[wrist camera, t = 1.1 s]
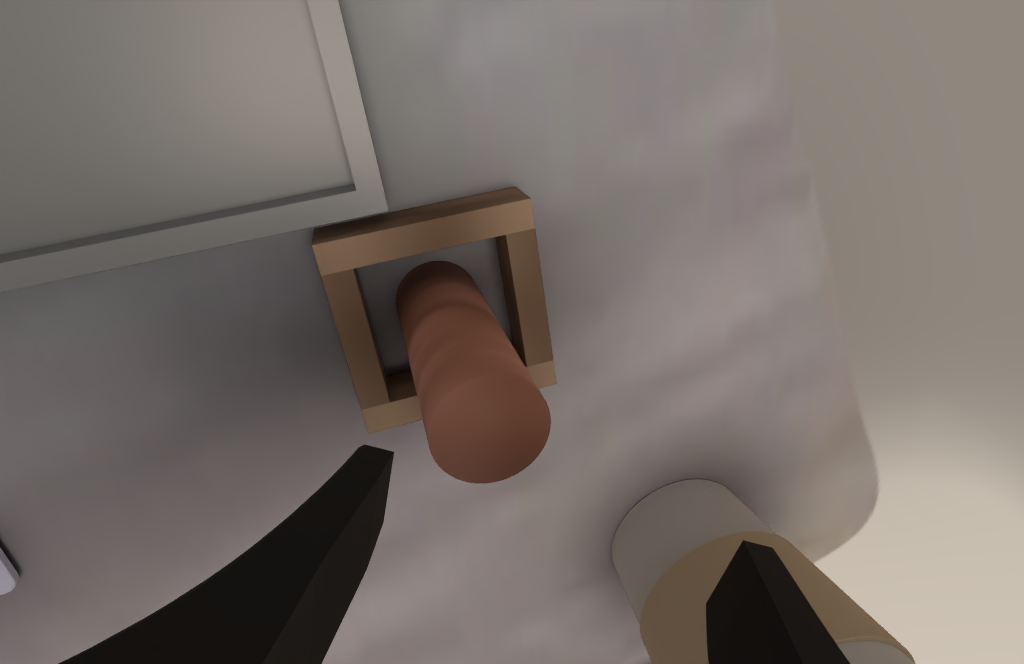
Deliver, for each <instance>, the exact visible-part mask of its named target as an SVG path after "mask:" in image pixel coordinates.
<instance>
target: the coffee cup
mask: <svg viewBox="0 0 1024 664" xmlns="http://www.w3.org/2000/svg"><path fill="white" fill-rule="evenodd" d="M743 540H745V541H749V542H752V543H756V544H760V545H764V546H768V547H772V548H773V549H774V550H775V552H776V553H777V555H778V556H779V557H780V559H781V560H782V562H783V563H784V565H785V567H786V568H787V570H788V571H789V573H790V574H791V576H792V577H793V579H794V580H795V582H796V583H797V585H798V587H799V588H800V590H801V591H802V593H803V594H804V596H805V597H806V599H807V600H808V602H809V603H810V605H811V606H812V608H813V609H814V611H815V613H816V614H817V616H818V617H819V619H820V620H821V622H822V623H823V625H824V626H825V628H826V629H827V631H828V632H829V633H830V635H831V636H832V638H833V639H834V641H835V642H836V644H837V645H838V647H839V648H840V650H841V651H842V652H843V654H844V655H845V657H846V658H847V660H848V661H849V662H850V664H915V661H914V659H913V657H912V655H911V654H910V653H909V651H908V650H907V649H906V648H905V647H903V646H902V645H901V644H900V643H899V642H898V641H897V640H896V639H895V638H894V637H892V636H891V635H890V634H889V633H888V632H887V631H886V630H885V629H884V628H883V627H881V625H879V624H878V623H877V622H876V621H875V620H874V619H873V618H872V617H871V616H870V615H869V614H867V613H866V612H865V611H864V610H863V609H862V608H861V607H860V606H858V605H857V604H856V603H855V602H854V601H853V600H852V599H851V598H850V597H849V596H848V595H847V594H846V593H844V592H843V591H842V590H841V589H840V588H839V587H838V586H837V585H836V584H835V583H834V582H832V581H831V580H830V579H829V578H828V577H827V576H826V575H825V574H824V573H823V572H822V571H820V570H819V569H818V568H817V567H816V566H815V565H814V564H813V563H812V562H811V561H810V560H808V559H807V558H806V557H805V556H804V555H803V554H802V553H801V552H800V551H799V550H798V549H796V548H795V547H794V546H793V545H792V544H791V543H790V542H789V541H787V540H786V539H784V538H782V537H780V536H778V535H777V534H776V533H775V532H774V531H772V530H771V529H770V528H769V527H768V526H767V525H766V524H765V523H764V522H763V521H762V520H761V519H760V518H759V517H757V516H756V515H755V514H754V513H753V512H752V511H751V510H750V509H749V508H748V507H747V506H746V505H745V504H744V503H743V502H741V501H740V500H739V499H738V498H737V497H736V496H735V495H734V494H733V493H732V492H731V491H730V490H729V489H727V488H726V487H725V486H723V485H721V484H719V483H717V482H714V481H710V480H704V479H690V480H683V481H679V482H675V483H672V484H669V485H666V486H664V487H662V488H660V489H658V490H656V491H654V492H652V493H651V494H649V495H648V496H646V497H645V498H643V499H642V500H641V501H640V502H638V503H637V504H636V505H635V506H634V507H633V508H632V509H631V510H630V511H629V512H628V514H627V515H626V516H625V517H624V519H623V520H622V522H621V523H620V525H619V527H618V529H617V531H616V533H615V536H614V539H613V544H612V560H613V564H614V566H615V569H616V571H617V573H618V576H619V578H620V580H621V582H622V585H623V587H624V589H625V592H626V594H627V596H628V599H629V601H630V603H631V605H632V608H633V610H634V612H635V615H636V617H637V619H638V622H639V624H640V632H641V637H642V640H643V642H644V645H645V647H646V649H647V652H648V654H649V656H650V659H651V661H652V663H653V664H709V661H708V653H707V634H706V603H707V601H708V599H709V597H710V596H711V594H712V592H713V591H714V589H715V587H716V585H717V584H718V582H719V580H720V579H721V577H722V575H723V573H724V572H725V570H726V568H727V567H728V565H729V563H730V562H731V560H732V558H733V556H734V555H735V553H736V551H737V550H738V548H739V546H740V544H741V543H742V541H743Z"/></svg>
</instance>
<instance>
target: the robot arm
mask: <svg viewBox="0 0 1024 664" xmlns="http://www.w3.org/2000/svg"><path fill="white" fill-rule="evenodd" d="M393 455H394V452H392V451H388V450H384V449H380V448H376V447H372V446H368V445H363V446H361V447H359V448H358V449H357V450H356V451H355V452H354V454H353V455H352V456H351V457H350V458H349V459H348V460H347V461H346V462H345V463H344V465H343V466H342V467H341V468H340V469H339V470H338V471H337V472H336V473H335V474H334V475H333V476H332V477H331V478H330V479H329V480H328V481H327V482H326V483H325V484H324V485H323V486H322V487H321V488H320V489H319V490H318V491H316V492H315V493H314V494H313V495H312V496H311V497H310V498H309V499H308V500H307V501H306V502H304V503H303V504H302V505H301V506H300V507H299V508H298V509H297V510H296V511H295V512H293V513H292V514H291V515H290V516H289V517H288V518H287V519H285V520H284V521H283V522H282V523H280V524H279V525H278V526H277V527H276V528H274V529H273V530H272V531H271V532H269V533H268V534H267V535H266V536H265V537H263V538H262V539H261V540H260V541H258V542H257V543H256V544H255V545H253V546H252V547H251V548H250V549H248V550H247V551H246V552H244V553H243V554H242V555H240V556H239V557H238V558H236V559H235V560H234V561H232V562H231V563H229V564H228V565H227V566H225V567H224V568H222V569H221V570H220V571H218V572H217V573H215V574H214V575H212V576H211V577H210V578H208V579H207V580H205V581H204V582H202V583H200V584H199V585H197V586H196V587H194V588H193V589H191V590H190V591H188V592H186V593H185V594H183V595H182V596H180V597H179V598H177V599H176V600H174V601H173V602H171V603H169V604H168V605H166V606H164V607H163V608H161V609H159V610H158V611H156V612H154V613H153V614H151V615H149V616H148V617H146V618H144V619H142V620H140V621H139V622H137V623H135V624H133V625H131V626H129V627H128V628H126V629H124V630H122V631H120V632H119V633H117V634H115V635H113V636H111V637H109V638H108V639H106V640H104V641H102V642H100V643H98V644H97V645H95V646H93V647H91V648H89V649H87V650H85V651H83V652H81V653H79V654H77V655H75V656H73V657H71V658H69V659H67V660H65V661H63V662H61V663H59V664H322V661H323V659H324V657H325V655H326V653H327V651H328V649H329V647H330V645H331V643H332V641H333V639H334V637H335V634H336V632H337V630H338V628H339V626H340V624H341V622H342V620H343V618H344V616H345V614H346V612H347V610H348V607H349V605H350V603H351V601H352V599H353V597H354V595H355V593H356V591H357V589H358V587H359V584H360V582H361V580H362V578H363V576H364V574H365V572H366V570H367V567H368V564H369V561H370V559H371V556H372V553H373V550H374V548H375V545H376V542H377V539H378V536H379V533H380V530H381V528H382V525H383V521H384V515H385V508H386V501H387V495H388V488H389V482H390V475H391V468H392V462H393ZM18 581H19V575H18V573H17V571H16V570H15V569H14V567H13V566H12V564H11V563H10V561H9V560H8V558H7V557H6V555H5V554H4V552H3V551H2V549H1V548H0V595H3V594H6V593H8V592H11V591H12V590H13V589H14V588H15V586H16V584H17V583H18ZM706 634H707V653H708V661H709V664H850V662H849V661H848V660H847V658H846V657H845V655H844V654H843V652H842V651H841V650H840V648H839V647H838V645H837V644H836V642H835V641H834V639H833V638H832V636H831V635H830V633H829V632H828V631H827V629H826V628H825V626H824V625H823V623H822V622H821V620H820V619H819V617H818V616H817V614H816V613H815V611H814V609H813V608H812V606H811V605H810V603H809V602H808V600H807V599H806V597H805V596H804V594H803V593H802V591H801V590H800V588H799V587H798V585H797V583H796V582H795V580H794V579H793V577H792V576H791V574H790V573H789V571H788V570H787V568H786V567H785V565H784V563H783V562H782V560H781V559H780V557H779V556H778V555H777V553H776V552H775V550H774V549H773V548H772V547H768V546H764V545H760V544H756V543H752V542H749V541H745V540H743V541H742V543H741V544H740V546H739V548H738V550H737V551H736V553H735V555H734V556H733V558H732V560H731V562H730V563H729V565H728V567H727V568H726V570H725V572H724V573H723V575H722V577H721V579H720V580H719V582H718V584H717V585H716V587H715V589H714V591H713V592H712V594H711V596H710V597H709V599H708V601H707V603H706Z"/></svg>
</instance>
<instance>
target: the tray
mask: <svg viewBox="0 0 1024 664" xmlns="http://www.w3.org/2000/svg"><path fill="white" fill-rule="evenodd" d="M386 211H389V210H388V206H387V202H386V198H385V193H384V189H383V185H382V181H381V177H380V173H379V168H378V164H377V160H376V156H375V152H374V148H373V143H372V139H371V135H370V131H369V127H368V123H367V119H366V114H365V110H364V106H363V102H362V98H361V94H360V89H359V85H358V81H357V77H356V73H355V69H354V64H353V60H352V56H351V52H350V48H349V44H348V39H347V35H346V31H345V27H344V23H343V19H342V14H341V10H340V6H339V2H338V0H0V293H1V292H6V291H11V290H15V289H20V288H25V287H30V286H34V285H39V284H44V283H49V282H53V281H58V280H63V279H68V278H72V277H77V276H82V275H87V274H91V273H96V272H101V271H106V270H110V269H115V268H120V267H125V266H129V265H134V264H139V263H144V262H148V261H153V260H158V259H163V258H167V257H172V256H177V255H182V254H187V253H191V252H196V251H201V250H206V249H210V248H215V247H220V246H225V245H229V244H234V243H239V242H244V241H248V240H253V239H258V238H263V237H267V236H272V235H277V234H282V233H286V232H291V231H296V230H301V229H305V228H310V227H315V226H320V225H324V224H329V223H334V222H339V221H343V220H348V219H353V218H358V217H362V216H367V215H372V214H377V213H382V212H386Z"/></svg>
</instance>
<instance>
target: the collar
mask: <svg viewBox="0 0 1024 664" xmlns="http://www.w3.org/2000/svg"><path fill="white" fill-rule="evenodd" d="M493 237H495V238H496V244H497V250H498V256H499V262H500V268H501V274H502V280H503V285H504V291H505V297H506V303H507V309H508V315H509V321H510V327H511V333H512V339H513V345H512V346H513V347H514V349H515V351H516V352H517V354H518V356H519V357H520V359H521V361H522V362H523V364H524V366H525V368H526V369H527V371H528V373H529V374H530V376H531V378H532V379H533V381H534V383H535V384H536V386H537V388H542V387H546V386H550V385H553V384H557V383H556V376H555V369H554V361H553V354H552V347H551V340H550V332H549V325H548V318H547V311H546V303H545V296H544V289H543V282H542V275H541V267H540V260H539V253H538V246H537V238H536V231H535V224H534V217H533V209H532V202H531V198H530V197H528V196H527V195H526V194H524V193H523V192H522V191H521V190H519V189H518V188H517V187H511V188H507V189H502V190H497V191H492V192H488V193H483V194H478V195H473V196H469V197H464V198H459V199H454V200H450V201H445V202H440V203H436V204H431V205H426V206H421V207H417V208H412V209H407V210H402V211H398V212H393V213H388V214H383V215H379V216H374V217H369V218H364V219H360V220H355V221H350V222H345V223H341V224H336V225H331V226H326V227H322V228H317V229H314V232H313V240H312V248H313V251H314V254H315V258H316V261H317V264H318V268H319V271H320V274H321V278H322V281H323V284H324V287H325V291H326V294H327V297H328V301H329V304H330V307H331V311H332V314H333V317H334V321H335V324H336V327H337V331H338V334H339V337H340V340H341V344H342V347H343V350H344V354H345V357H346V360H347V364H348V367H349V370H350V374H351V377H352V380H353V383H354V387H355V390H356V393H357V397H358V400H359V403H360V407H361V410H362V413H363V417H364V420H365V423H366V426H367V430H368V433H373V432H377V431H380V430H384V429H388V428H392V427H395V426H399V425H403V424H407V423H410V422H414V421H418V420H422V419H423V418H422V414H421V410H420V405H419V401H418V397H417V393H416V388H415V384H414V380H413V375H412V371H411V370H409V371H406V372H402V373H398V374H394V375H390V376H386V374H385V370H384V367H383V363H382V360H381V356H380V352H379V349H378V345H377V341H376V338H375V334H374V330H373V327H372V323H371V319H370V316H369V312H368V308H367V305H366V301H365V298H364V294H363V290H362V287H361V283H360V279H359V276H358V272H357V268H359V267H363V266H368V265H372V264H377V263H381V262H386V261H390V260H395V259H399V258H404V257H408V256H413V255H417V254H422V253H426V252H431V251H435V250H439V249H444V248H448V247H453V246H457V245H462V244H466V243H471V242H475V241H480V240H484V239H489V238H493Z"/></svg>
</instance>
